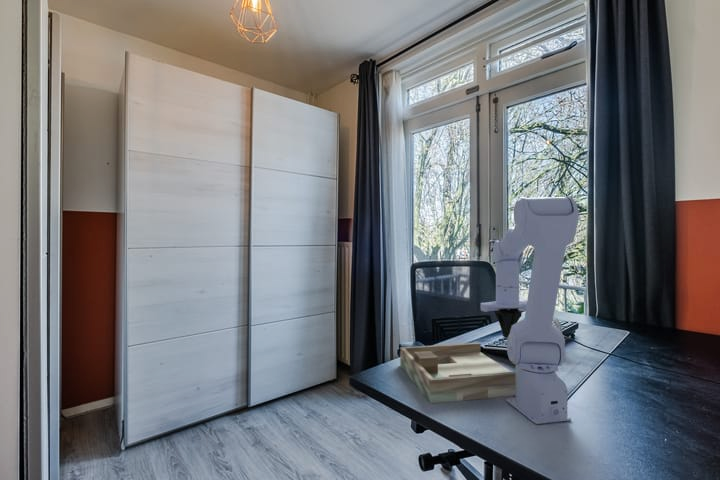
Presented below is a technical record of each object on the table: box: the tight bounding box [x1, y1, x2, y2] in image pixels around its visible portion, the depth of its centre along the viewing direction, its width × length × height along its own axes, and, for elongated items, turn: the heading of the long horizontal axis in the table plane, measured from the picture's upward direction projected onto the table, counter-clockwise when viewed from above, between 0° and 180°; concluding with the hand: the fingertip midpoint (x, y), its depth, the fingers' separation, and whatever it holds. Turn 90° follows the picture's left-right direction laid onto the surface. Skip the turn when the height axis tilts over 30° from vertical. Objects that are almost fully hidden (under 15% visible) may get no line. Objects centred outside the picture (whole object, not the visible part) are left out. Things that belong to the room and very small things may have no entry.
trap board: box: [399, 342, 516, 404], centre depth 84 cm, size 22×24×5 cm
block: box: [414, 351, 438, 374], centre depth 83 cm, size 4×4×4 cm
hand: (507, 337), depth 88 cm, fingers closed
